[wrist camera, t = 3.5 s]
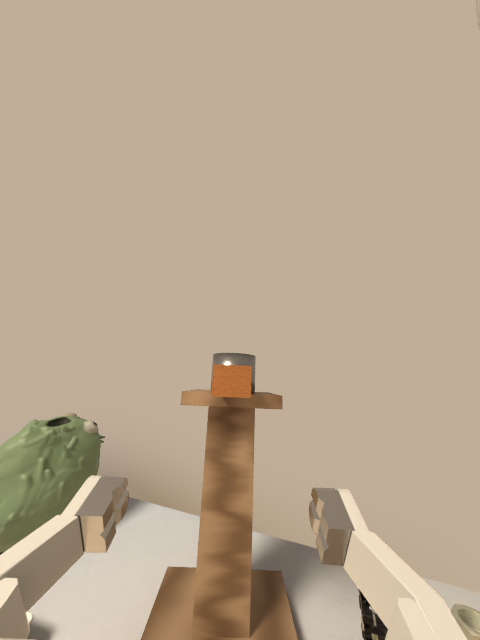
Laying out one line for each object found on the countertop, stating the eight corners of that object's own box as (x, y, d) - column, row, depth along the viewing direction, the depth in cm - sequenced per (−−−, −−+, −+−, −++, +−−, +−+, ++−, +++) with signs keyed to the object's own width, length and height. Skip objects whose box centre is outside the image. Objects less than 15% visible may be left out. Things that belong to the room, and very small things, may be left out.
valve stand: (281, 589, 31) (279, 393, 39) (307, 708, 20) (298, 396, 27) (165, 584, 31) (186, 389, 38) (125, 701, 20) (165, 390, 27)
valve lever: (252, 392, 34) (253, 359, 35) (265, 398, 19) (266, 341, 21) (212, 391, 34) (215, 357, 35) (195, 395, 19) (201, 338, 21)
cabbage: (-85, 563, 33) (-34, 416, 38) (59, 506, 49) (81, 408, 55) (-46, 613, 26) (9, 426, 32) (106, 528, 43) (125, 414, 48)
